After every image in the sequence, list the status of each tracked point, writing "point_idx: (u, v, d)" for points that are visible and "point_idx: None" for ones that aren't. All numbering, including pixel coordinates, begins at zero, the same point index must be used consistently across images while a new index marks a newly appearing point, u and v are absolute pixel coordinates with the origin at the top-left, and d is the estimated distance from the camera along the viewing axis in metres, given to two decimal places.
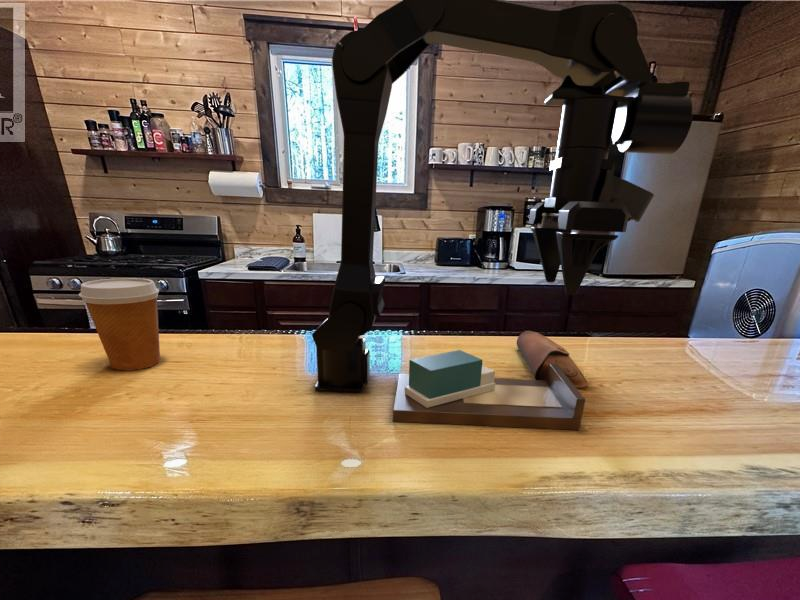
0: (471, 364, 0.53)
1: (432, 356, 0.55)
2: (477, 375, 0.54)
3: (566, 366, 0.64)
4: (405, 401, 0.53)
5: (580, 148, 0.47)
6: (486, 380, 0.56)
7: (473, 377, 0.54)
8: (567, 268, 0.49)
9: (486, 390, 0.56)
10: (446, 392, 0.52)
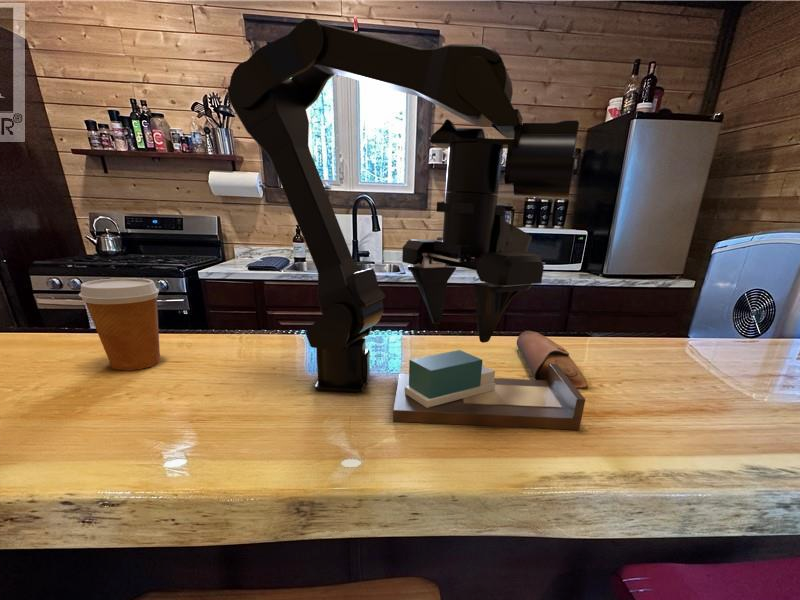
0: (471, 364, 0.53)
1: (432, 356, 0.55)
2: (477, 375, 0.54)
3: (566, 366, 0.64)
4: (405, 401, 0.53)
5: (480, 194, 0.45)
6: (486, 380, 0.56)
7: (473, 377, 0.54)
8: (485, 318, 0.47)
9: (486, 390, 0.56)
10: (446, 392, 0.52)
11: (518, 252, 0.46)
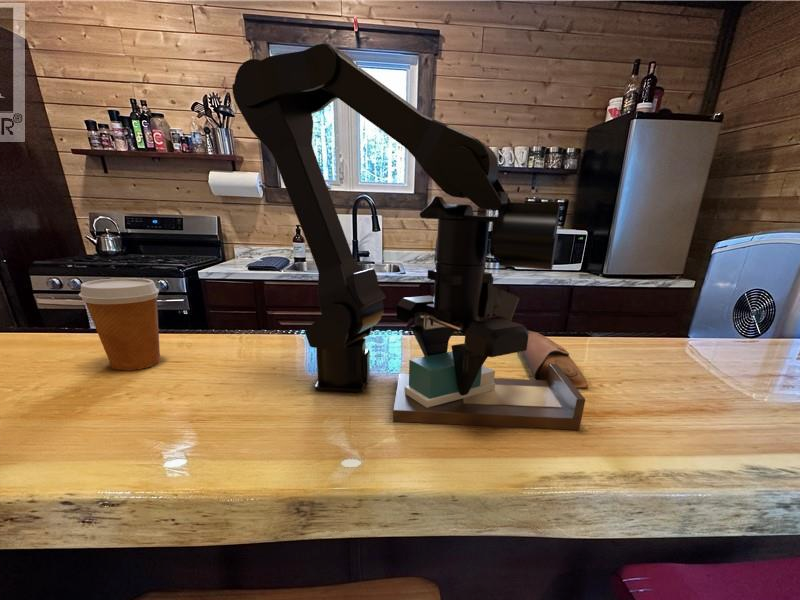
0: None
1: (432, 356, 0.55)
2: (477, 375, 0.54)
3: (566, 366, 0.64)
4: (405, 401, 0.53)
5: (468, 266, 0.47)
6: (486, 380, 0.56)
7: None
8: (463, 375, 0.51)
9: (486, 390, 0.56)
10: (446, 392, 0.52)
11: (504, 320, 0.48)
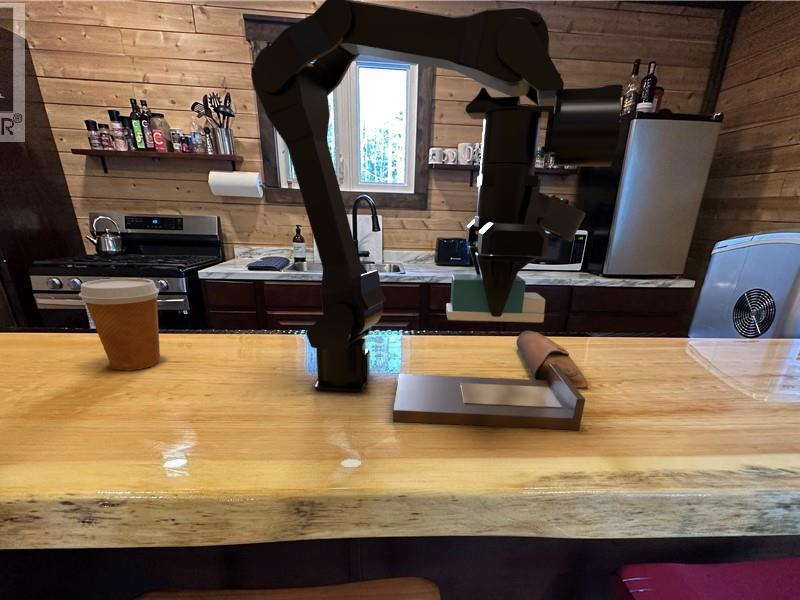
0: None
1: (478, 275, 0.52)
2: (517, 298, 0.49)
3: (566, 366, 0.64)
4: (405, 401, 0.53)
5: (501, 164, 0.43)
6: (531, 308, 0.49)
7: (512, 300, 0.49)
8: (489, 290, 0.47)
9: (530, 319, 0.49)
10: (474, 309, 0.49)
11: None
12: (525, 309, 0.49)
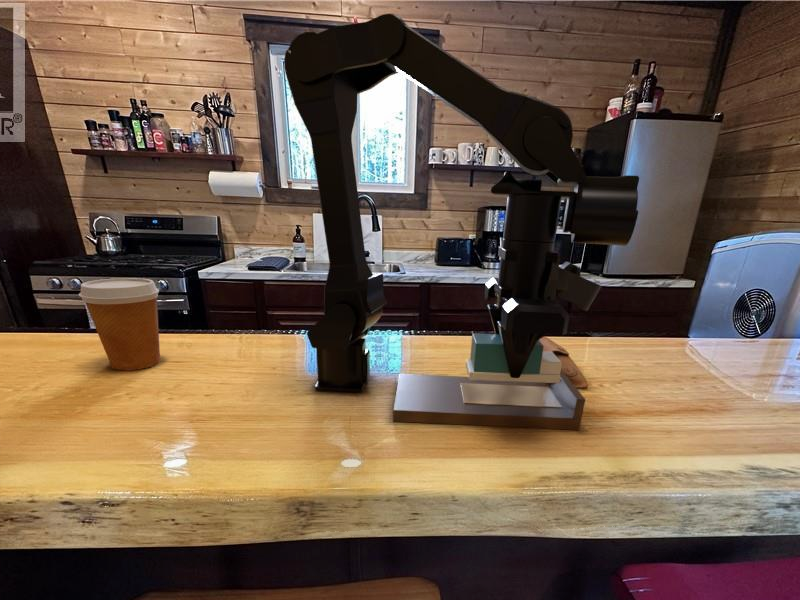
0: None
1: (497, 335, 0.55)
2: (535, 361, 0.52)
3: (566, 366, 0.64)
4: (405, 401, 0.53)
5: (523, 242, 0.46)
6: (548, 370, 0.52)
7: (531, 362, 0.52)
8: (509, 355, 0.50)
9: (546, 380, 0.52)
10: (494, 370, 0.52)
11: (552, 301, 0.45)
12: (542, 371, 0.52)
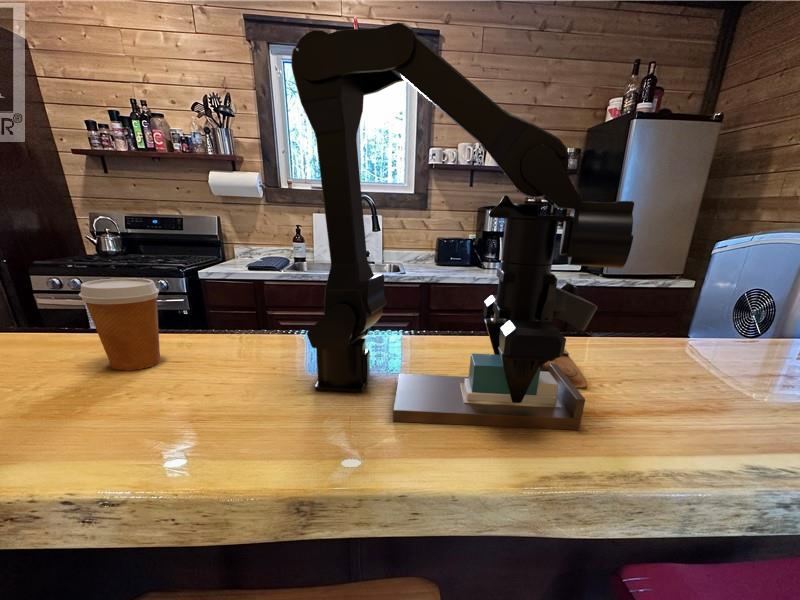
0: None
1: (495, 355, 0.56)
2: (532, 383, 0.53)
3: (566, 366, 0.64)
4: (405, 401, 0.53)
5: (521, 265, 0.47)
6: (545, 391, 0.53)
7: None
8: (510, 381, 0.49)
9: (543, 401, 0.53)
10: (492, 391, 0.53)
11: (549, 323, 0.46)
12: (539, 392, 0.53)
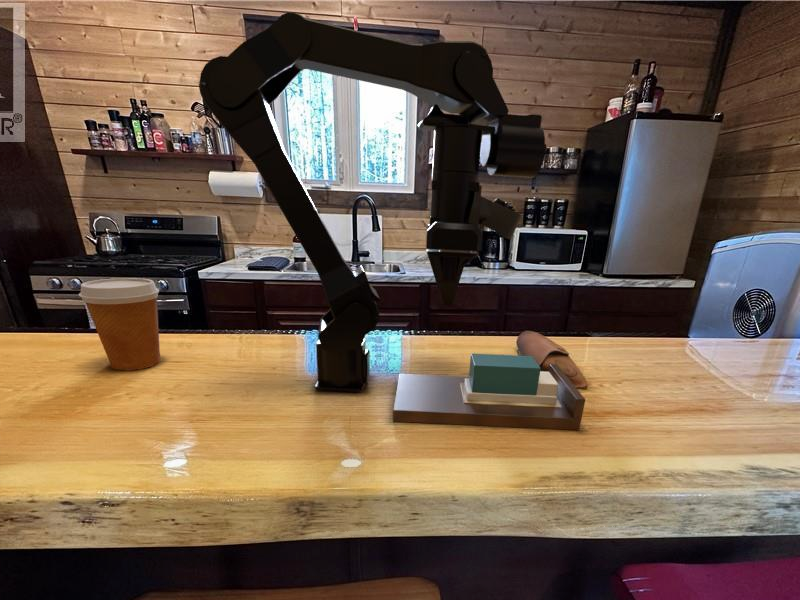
0: (525, 370, 0.52)
1: (495, 355, 0.56)
2: (532, 383, 0.53)
3: (566, 366, 0.64)
4: (405, 401, 0.53)
5: (447, 172, 0.51)
6: (545, 391, 0.53)
7: (528, 384, 0.53)
8: (439, 282, 0.53)
9: (543, 401, 0.53)
10: (492, 391, 0.53)
11: (470, 223, 0.50)
12: (539, 392, 0.53)
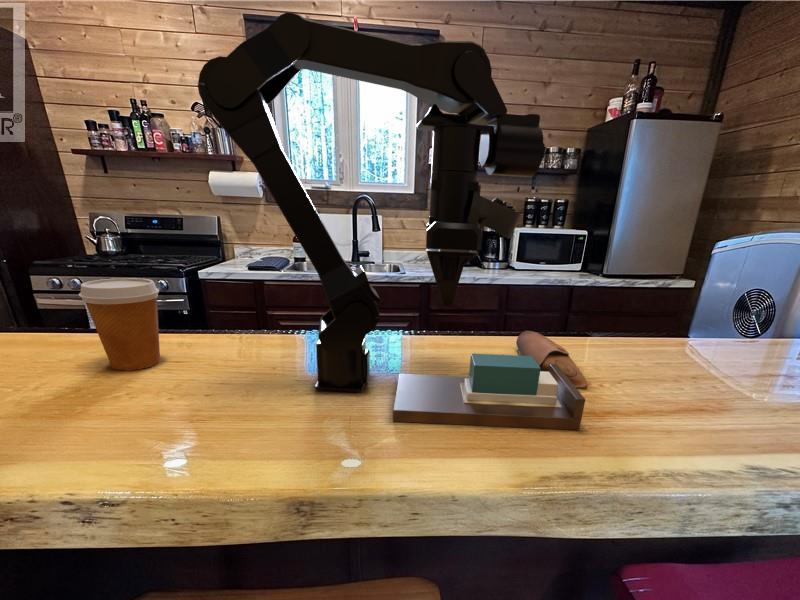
0: (525, 370, 0.52)
1: (495, 355, 0.56)
2: (532, 383, 0.53)
3: (566, 366, 0.64)
4: (405, 401, 0.53)
5: (446, 172, 0.51)
6: (545, 391, 0.53)
7: (528, 384, 0.53)
8: (439, 282, 0.53)
9: (543, 401, 0.53)
10: (492, 391, 0.53)
11: None
12: (539, 392, 0.53)
